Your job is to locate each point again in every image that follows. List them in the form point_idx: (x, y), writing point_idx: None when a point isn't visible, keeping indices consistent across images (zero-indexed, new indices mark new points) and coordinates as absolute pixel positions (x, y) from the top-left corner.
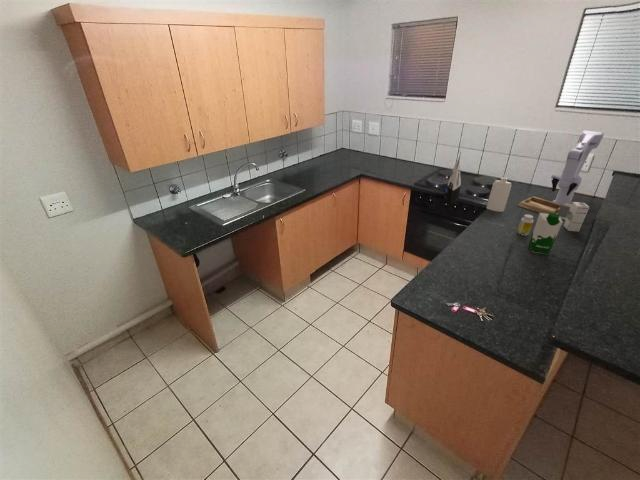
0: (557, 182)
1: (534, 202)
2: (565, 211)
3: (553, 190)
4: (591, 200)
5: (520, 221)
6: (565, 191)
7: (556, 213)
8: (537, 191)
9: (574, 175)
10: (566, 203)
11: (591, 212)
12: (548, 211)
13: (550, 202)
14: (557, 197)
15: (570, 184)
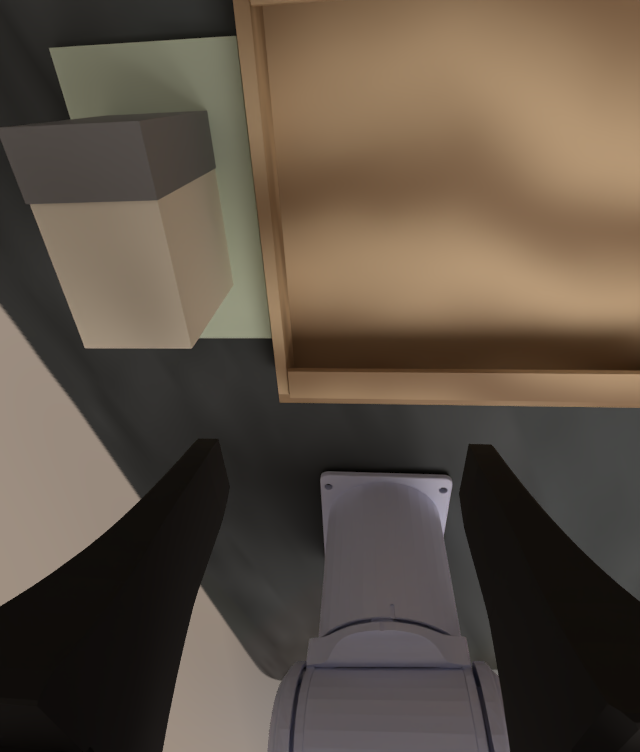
0: (521, 701)
1: (601, 312)
2: (78, 120)
3: (476, 460)
4: (273, 646)
5: None
6: (373, 611)
7: (245, 166)
8: (633, 589)
9: None
10: (176, 321)
11: (135, 489)
12: None
13: (429, 370)
14: (426, 529)
15: (23, 704)
